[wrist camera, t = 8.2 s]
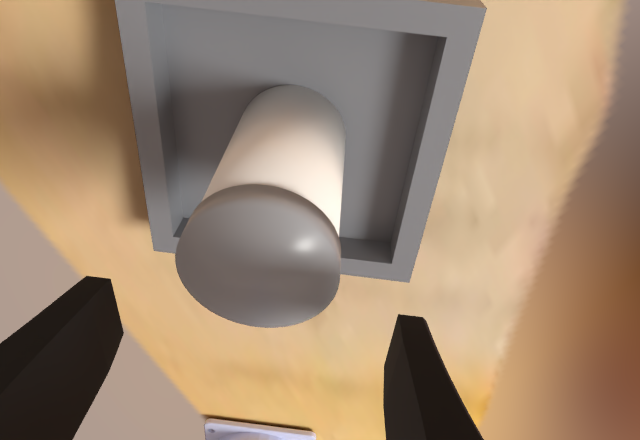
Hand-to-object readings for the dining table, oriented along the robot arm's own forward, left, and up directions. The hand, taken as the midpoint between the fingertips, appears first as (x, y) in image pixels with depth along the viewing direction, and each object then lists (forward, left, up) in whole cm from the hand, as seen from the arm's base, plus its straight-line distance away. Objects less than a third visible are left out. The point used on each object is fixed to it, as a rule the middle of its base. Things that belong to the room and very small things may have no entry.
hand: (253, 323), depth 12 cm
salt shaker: (0, 0, -10) cm, 10 cm away
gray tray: (0, 0, -10) cm, 10 cm away
